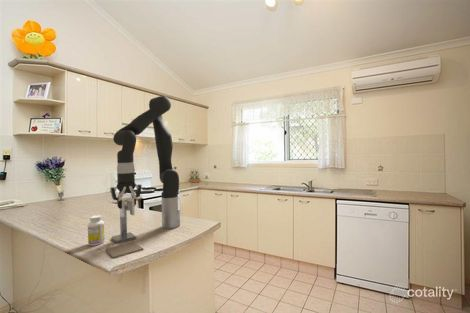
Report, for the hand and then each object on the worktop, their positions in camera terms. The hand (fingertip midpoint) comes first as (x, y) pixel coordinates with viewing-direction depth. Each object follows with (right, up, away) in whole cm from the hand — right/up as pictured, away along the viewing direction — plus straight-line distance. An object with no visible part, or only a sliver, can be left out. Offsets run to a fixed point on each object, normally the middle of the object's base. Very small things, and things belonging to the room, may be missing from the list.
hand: (127, 207), depth 109 cm
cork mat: (+3, -17, -9) cm, 19 cm away
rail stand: (-2, -17, +2) cm, 17 cm away
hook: (0, -4, 0) cm, 4 cm away
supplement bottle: (-14, -17, -1) cm, 22 cm away
